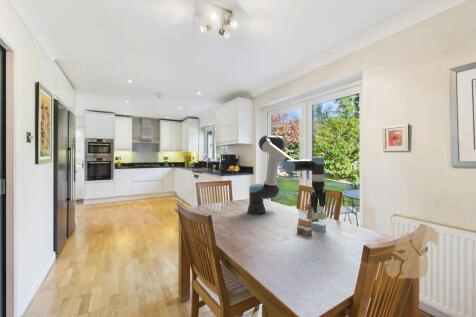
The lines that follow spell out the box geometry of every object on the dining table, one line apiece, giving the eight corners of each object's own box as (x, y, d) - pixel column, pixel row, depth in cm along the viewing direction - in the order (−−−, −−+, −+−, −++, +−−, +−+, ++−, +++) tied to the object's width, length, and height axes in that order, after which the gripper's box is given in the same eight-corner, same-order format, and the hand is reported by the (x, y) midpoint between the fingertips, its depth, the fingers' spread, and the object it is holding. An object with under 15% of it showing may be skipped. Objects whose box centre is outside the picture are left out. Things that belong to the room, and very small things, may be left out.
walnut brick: (297, 233, 135) (297, 226, 135) (301, 231, 137) (301, 225, 137) (307, 237, 128) (307, 230, 128) (311, 235, 130) (311, 229, 130)
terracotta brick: (298, 223, 152) (298, 218, 152) (302, 222, 154) (302, 217, 154) (307, 227, 145) (307, 221, 145) (311, 226, 147) (311, 220, 147)
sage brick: (326, 218, 137) (326, 212, 137) (322, 219, 135) (321, 213, 135) (315, 215, 144) (315, 209, 144) (311, 216, 142) (311, 210, 142)
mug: (317, 217, 166) (317, 203, 166) (320, 221, 157) (320, 206, 156) (301, 217, 167) (301, 203, 166) (303, 221, 157) (303, 206, 157)
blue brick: (311, 228, 142) (311, 222, 142) (314, 227, 145) (314, 221, 145) (322, 232, 136) (322, 225, 136) (325, 230, 139) (325, 224, 138)
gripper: (314, 182, 132) (314, 220, 132) (331, 180, 141) (332, 216, 141) (304, 181, 138) (304, 217, 139) (321, 179, 147) (322, 213, 148)
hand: (318, 216), depth 140 cm, fingers closed on sage brick, 4 cm apart
